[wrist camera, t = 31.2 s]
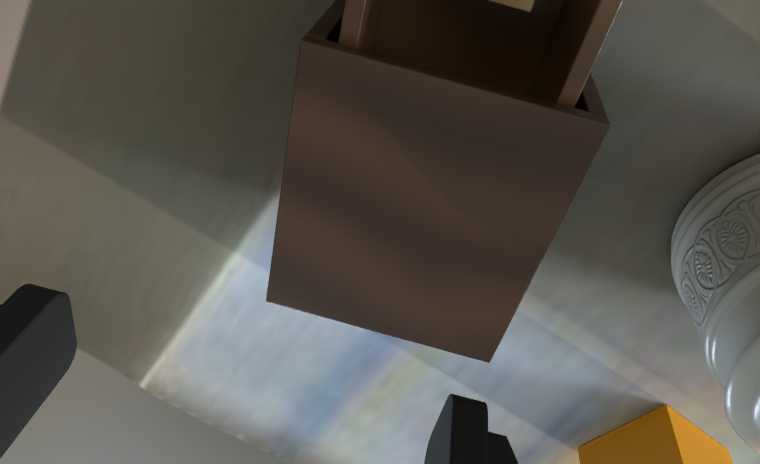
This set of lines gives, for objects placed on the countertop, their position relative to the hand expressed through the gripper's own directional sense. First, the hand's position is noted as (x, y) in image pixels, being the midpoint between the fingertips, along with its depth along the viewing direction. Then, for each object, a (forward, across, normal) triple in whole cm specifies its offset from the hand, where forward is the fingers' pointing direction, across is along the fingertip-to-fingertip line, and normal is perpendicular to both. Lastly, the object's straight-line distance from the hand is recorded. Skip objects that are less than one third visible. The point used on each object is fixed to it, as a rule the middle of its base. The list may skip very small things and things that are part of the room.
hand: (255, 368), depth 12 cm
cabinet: (+24, -3, +6) cm, 25 cm away
